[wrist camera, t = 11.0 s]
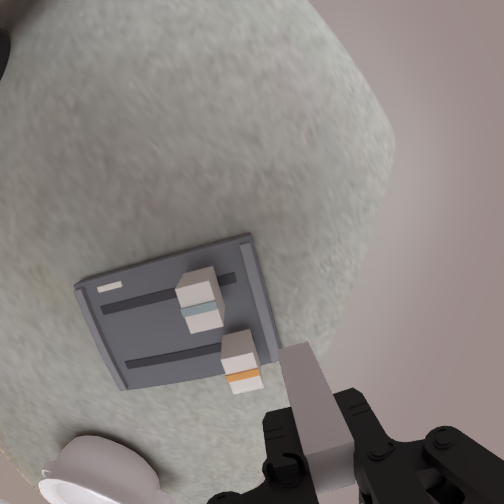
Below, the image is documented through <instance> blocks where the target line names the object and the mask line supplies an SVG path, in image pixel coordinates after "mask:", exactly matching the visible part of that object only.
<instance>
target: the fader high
mask: <svg viewBox="0 0 504 504" xmlns="http://www.w3.org/2000/svg"><path fill="white" fill-rule="evenodd" d="M175 291H176V294H177V297H178V300H179V303H180V306H181V309H180V310H181V313H182V316H183V317H185V320H186V322H187V325H188V328H189V330H190V333H191V334H193V333H197V332H202V331H206V330H210V329H215V328H219V327H223V326H224V313H225V304H224V301H223V297H222V294H221V291H220V288H219V284H218V281H217V278H216V274H215V271H214V268H213V266H210V267H206V268H203V269H199V270H195V271H191V272H188V273H184V274H183V276H182V278H181V279H180V281H179V283H178V285H177V286H176V288H175Z"/></svg>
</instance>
